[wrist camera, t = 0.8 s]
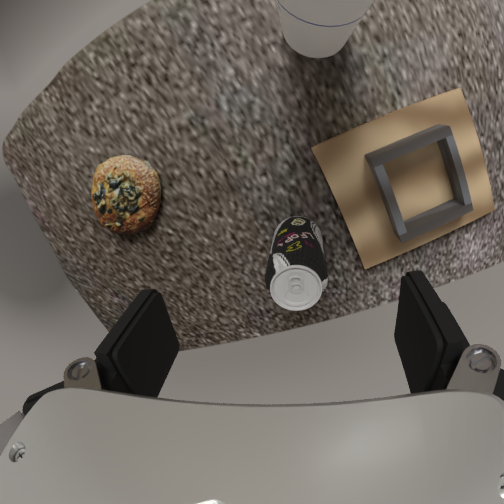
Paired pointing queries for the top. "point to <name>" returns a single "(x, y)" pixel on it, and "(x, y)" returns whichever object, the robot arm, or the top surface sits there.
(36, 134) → the top surface
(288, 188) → the top surface
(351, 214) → the board
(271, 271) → the beverage can
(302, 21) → the cylindrical container
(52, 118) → the top surface
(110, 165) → the bread roll
